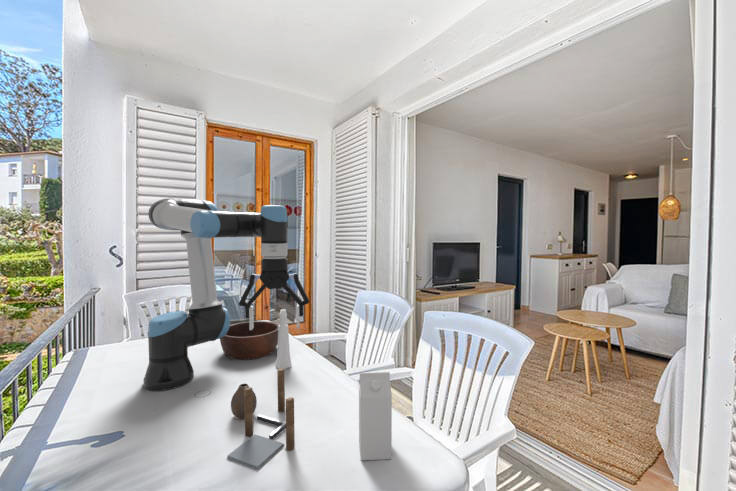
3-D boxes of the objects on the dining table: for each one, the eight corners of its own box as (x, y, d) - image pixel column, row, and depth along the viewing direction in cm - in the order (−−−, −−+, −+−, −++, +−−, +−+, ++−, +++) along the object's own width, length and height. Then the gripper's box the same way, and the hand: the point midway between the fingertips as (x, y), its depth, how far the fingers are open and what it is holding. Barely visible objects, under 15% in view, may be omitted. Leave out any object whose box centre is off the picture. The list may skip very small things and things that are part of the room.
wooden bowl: (257, 338, 165) (257, 318, 165) (292, 349, 151) (292, 326, 150) (207, 354, 145) (207, 330, 145) (242, 368, 130) (242, 341, 130)
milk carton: (358, 442, 85) (358, 367, 84) (387, 440, 85) (387, 366, 85) (360, 461, 78) (360, 379, 77) (391, 459, 78) (391, 378, 77)
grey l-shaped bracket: (241, 430, 90) (241, 426, 90) (258, 418, 95) (258, 414, 95) (271, 440, 86) (271, 435, 85) (287, 426, 91) (287, 422, 91)
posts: (243, 435, 87) (242, 389, 87) (280, 407, 101) (280, 368, 100) (291, 451, 81) (290, 402, 81) (324, 419, 95) (324, 377, 94)
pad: (227, 458, 79) (227, 455, 79) (255, 436, 87) (255, 434, 87) (257, 469, 75) (257, 466, 75) (283, 445, 83) (283, 443, 83)
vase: (248, 423, 93) (248, 392, 93) (225, 420, 94) (225, 389, 94) (261, 410, 100) (260, 380, 99) (240, 407, 101) (239, 378, 101)
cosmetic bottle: (274, 364, 134) (273, 308, 133) (289, 362, 136) (289, 307, 135) (277, 370, 128) (276, 312, 127) (293, 367, 131) (292, 310, 130)
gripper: (227, 259, 96) (228, 333, 97) (317, 258, 100) (317, 329, 101) (233, 256, 103) (234, 326, 104) (316, 256, 107) (316, 322, 108)
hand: (275, 327), depth 103 cm, fingers open, 13 cm apart
